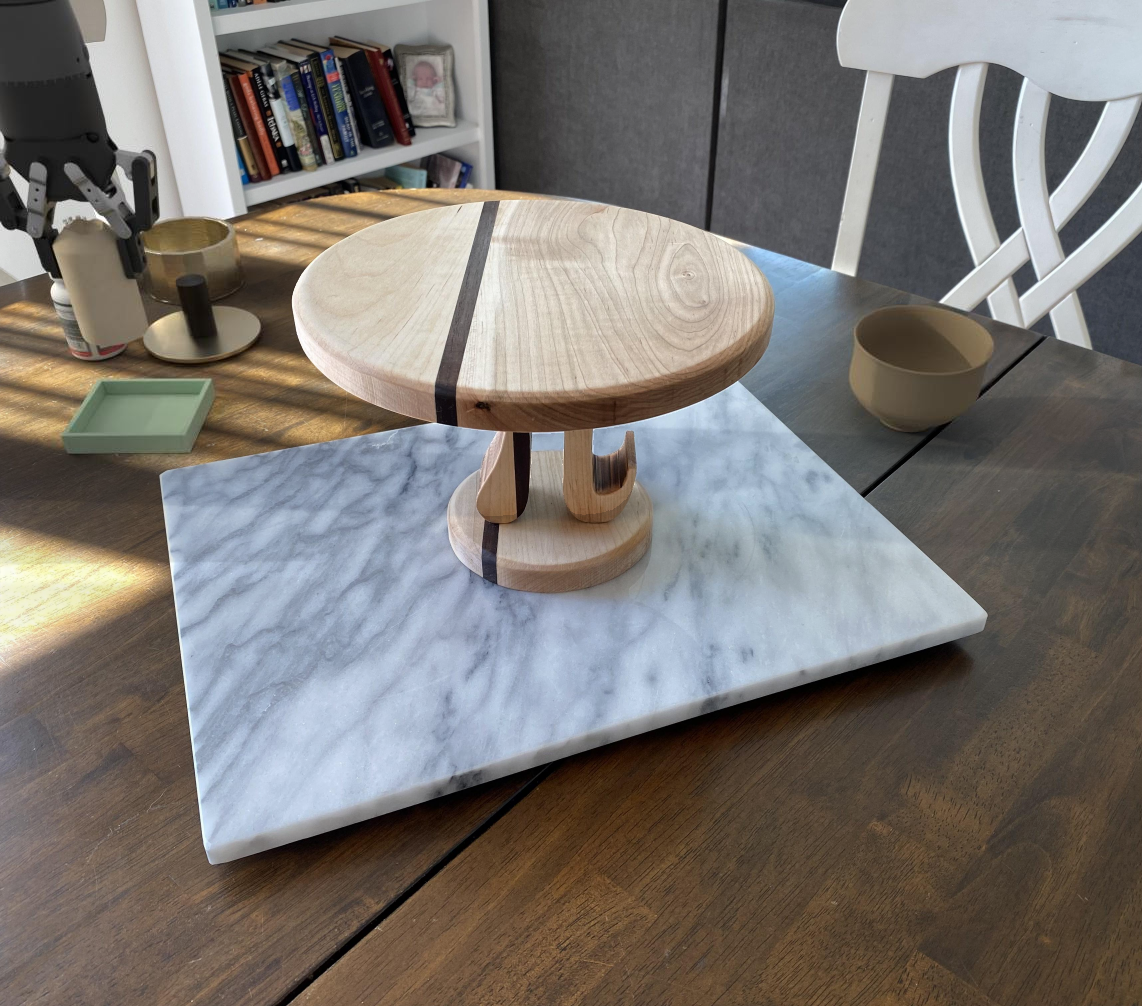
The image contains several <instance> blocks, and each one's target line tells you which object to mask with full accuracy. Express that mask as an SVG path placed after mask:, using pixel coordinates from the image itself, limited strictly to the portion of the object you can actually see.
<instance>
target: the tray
mask: <svg viewBox="0 0 1142 1006" xmlns="http://www.w3.org/2000/svg"><path fill="white" fill-rule="evenodd" d="M216 397H217V392H216V389H215V384H214V380H213V378H98V379H97V381H96V382H95V383H94V385H93V387H92V388H91V389H90V391H89V393H88V394H87V395H86V397H85V399H84V400H83V402H82V403H81V405H80V406H79V407H78V409H77V410H76V411H75V414H74V415H73V417H72V418H71V419H70V421H69V423H68V425H66V427H65V429H64V430H63V432H62V433H61V435H60V438H61V440H62V443H63V446H64V448H65V451H66V454H68V455H69V454H70V455H73V454H74V455H77V454H81V455H83V454H85V455H88V454H89V455H90V454H185V453H186V454H190V453H191V452H192V449H193V447H194V445H195V443H196V441H197V438H198V437H199V434H200V432H201V429H202V427H203V425H204V423H205V422H206V419H207V417H208V415H209V412H210V410H211V408H212V406H213V404H214V401H215V398H216Z"/></svg>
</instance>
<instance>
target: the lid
mask: <svg viewBox="0 0 1142 1006" xmlns="http://www.w3.org/2000/svg"><path fill="white" fill-rule="evenodd" d="M175 283H176V287H177V291H178V295H179V299H180V303H181V305H180V306H181V310H179V311H176V312H172V313H170V314H168V315H166V316H163V317H161V318H159V319H158V320H156V321H155V322H154V323H151V325H150V326H148V330H147V332H146V333H145V334H144V335H143V336H142V342H143V345H144V349H145V350H146V351H147V352H148V353H149V354H150V355H152V356H153V357H155V358H157V359H160V360H162V361H165V362H171V363H177V364H178V363H180V364H199V363H207V362H214V361H219V360H222V359H226V358H229V357H232V356H235V355H237V354H240V353H241V352H244V351H246V350H247V349H249V348H250V347H251V346H253V345H254V344H256V342H257V341H258V340H259V338H260V336H261V333H262V325H261V321H260V320H259V318H258V317H257V316H256V315H255V314H253V313H252V312H250V311H248V310H246V309H245V310H244V309H242V308H239V307H234V306H227V305H226V306H225V305H212V302H211V301H210V297H209V292H208V288H207V284H206V279H205V277H204V276H202V275H198V274H189V275H184V276H181V277H179V278H178V279H176V281H175Z"/></svg>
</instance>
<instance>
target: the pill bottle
mask: <svg viewBox="0 0 1142 1006" xmlns="http://www.w3.org/2000/svg"><path fill="white" fill-rule="evenodd" d="M47 273H48V276H49V278H50V279H51V280H52V281H53V282H54V283H53V284H52V285H51V288H50V296H51V299H52V302H53V305H54V309H55V311H56V313H57V316H58V319H59V321H60V325H61V327H62V331H63V333H64V336H65V339H66V342H67V344H68V348H69V350H70V352H71V354H72V355H73V356H74V357H75V358H77V359H80V360H82V361H102V360H106V359H109V358H112V357H115V356H118V355H120V354H121V353H122V352H123V351H125V349H126V348H127V346H128V343H129V342H128V343H125V344H120V345H114V346H98V345H93V344H90V343H88V342H87V341H85V339H84V338H83V336H82V333H81V331H80V328H79V325H78V322H77V319H76V316H75V313H74V310H73V307H72V304H71V301H70V298H69V295H68V292H67V289H66V286H65V283H64V280H63V279H53V278H52V276H51V273H50V272H47Z"/></svg>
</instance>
